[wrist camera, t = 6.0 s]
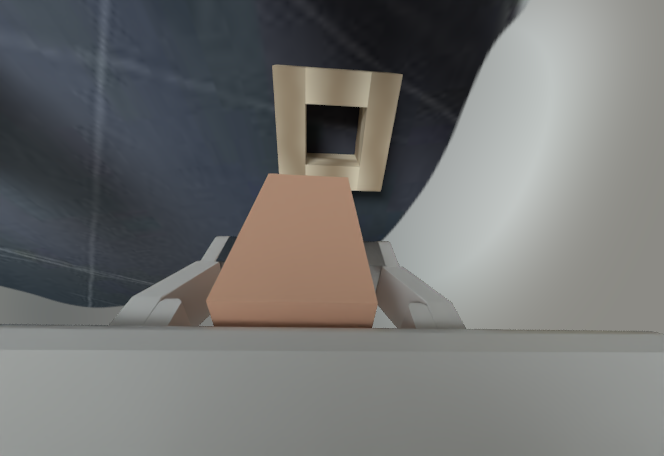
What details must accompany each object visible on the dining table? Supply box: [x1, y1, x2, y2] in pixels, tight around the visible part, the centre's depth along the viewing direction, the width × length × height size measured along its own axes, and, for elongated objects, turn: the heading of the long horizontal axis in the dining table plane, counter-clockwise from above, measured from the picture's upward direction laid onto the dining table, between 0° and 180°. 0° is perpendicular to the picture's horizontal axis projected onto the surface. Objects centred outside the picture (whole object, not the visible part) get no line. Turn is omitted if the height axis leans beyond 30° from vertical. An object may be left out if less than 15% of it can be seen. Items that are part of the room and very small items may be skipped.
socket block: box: [272, 65, 403, 191], centre depth 25 cm, size 11×11×4 cm
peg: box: [206, 174, 378, 328], centre depth 10 cm, size 4×4×8 cm
